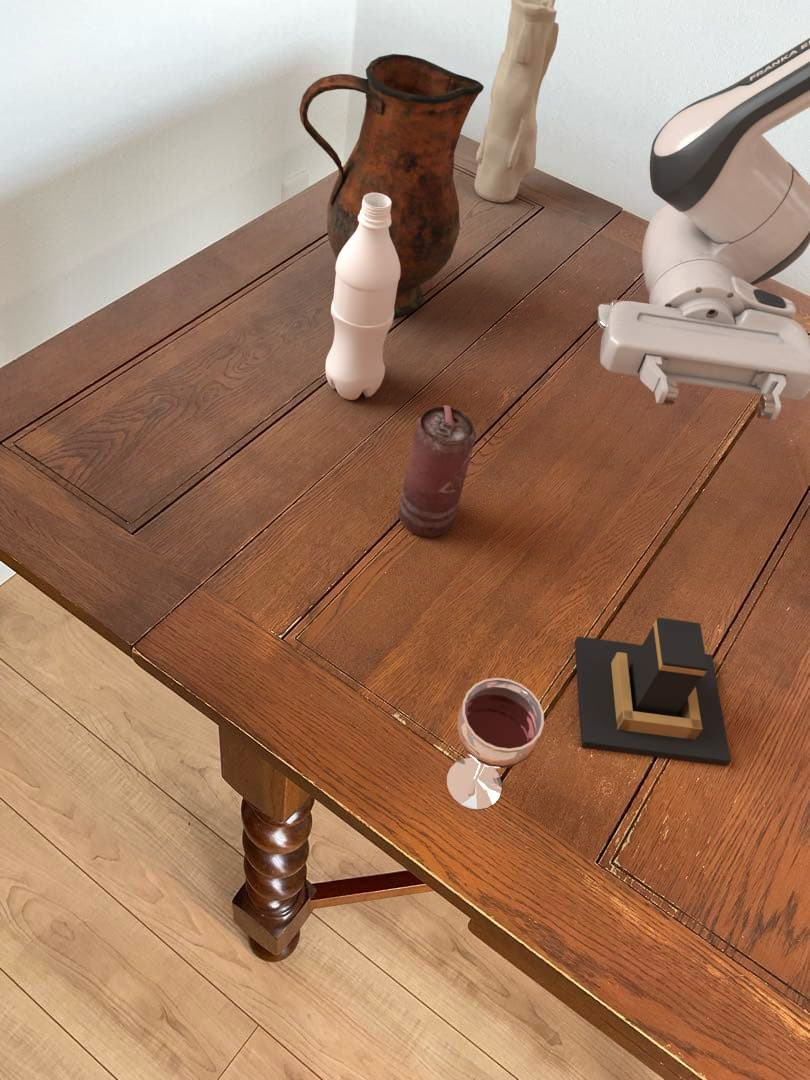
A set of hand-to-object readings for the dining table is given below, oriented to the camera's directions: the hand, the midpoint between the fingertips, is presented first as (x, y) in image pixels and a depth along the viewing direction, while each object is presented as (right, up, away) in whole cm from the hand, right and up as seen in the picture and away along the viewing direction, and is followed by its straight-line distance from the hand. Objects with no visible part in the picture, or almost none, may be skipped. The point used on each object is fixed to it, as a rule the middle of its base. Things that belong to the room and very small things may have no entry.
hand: (719, 406), depth 87 cm
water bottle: (-35, +7, +32) cm, 48 cm away
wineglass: (-22, -34, -1) cm, 40 cm away
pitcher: (-33, +21, +45) cm, 60 cm away
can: (-26, -10, +20) cm, 34 cm away
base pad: (-4, -28, +8) cm, 29 cm away
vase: (-13, +43, +68) cm, 81 cm away
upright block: (-4, -27, +7) cm, 28 cm away
